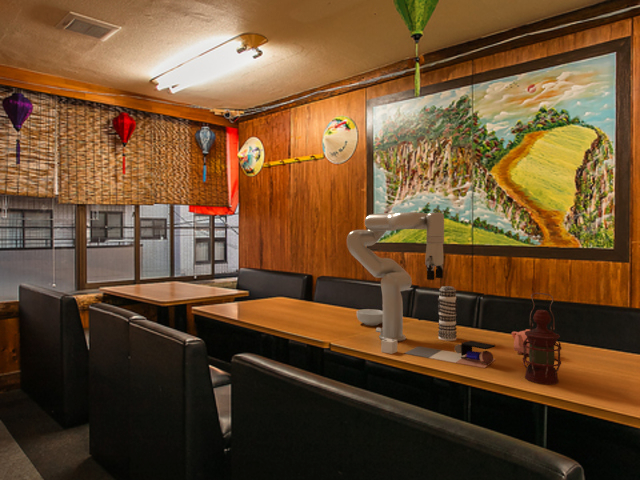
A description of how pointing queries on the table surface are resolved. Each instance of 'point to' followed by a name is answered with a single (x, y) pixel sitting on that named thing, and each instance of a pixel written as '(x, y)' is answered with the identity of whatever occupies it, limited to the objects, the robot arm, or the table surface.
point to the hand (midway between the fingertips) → (434, 278)
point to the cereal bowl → (370, 316)
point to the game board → (445, 356)
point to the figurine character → (483, 356)
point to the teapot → (520, 341)
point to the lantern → (542, 349)
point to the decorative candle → (447, 313)
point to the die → (389, 346)
